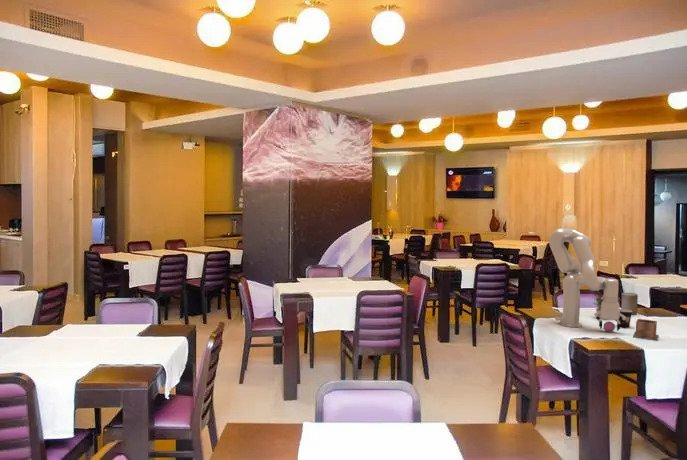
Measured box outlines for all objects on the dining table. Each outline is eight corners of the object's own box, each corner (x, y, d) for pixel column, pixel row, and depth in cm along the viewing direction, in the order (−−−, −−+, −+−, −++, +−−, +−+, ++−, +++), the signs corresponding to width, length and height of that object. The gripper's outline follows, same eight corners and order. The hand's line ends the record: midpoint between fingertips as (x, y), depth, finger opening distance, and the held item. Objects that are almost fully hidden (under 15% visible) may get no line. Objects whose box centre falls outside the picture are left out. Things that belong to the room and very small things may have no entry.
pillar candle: (637, 313, 375) (638, 291, 374) (636, 315, 367) (637, 293, 366) (621, 311, 380) (622, 290, 380) (620, 314, 372) (620, 292, 371)
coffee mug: (629, 325, 338) (630, 309, 338) (632, 329, 330) (633, 312, 330) (609, 324, 342) (609, 308, 341) (610, 327, 334) (611, 310, 333)
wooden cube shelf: (632, 337, 310) (633, 321, 310) (634, 333, 320) (635, 318, 320) (657, 340, 304) (658, 325, 303) (658, 336, 314) (659, 321, 313)
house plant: (588, 319, 353) (589, 294, 352) (587, 315, 366) (588, 291, 365) (612, 321, 348) (613, 296, 347) (611, 317, 361) (612, 292, 360)
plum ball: (602, 332, 322) (603, 321, 321) (604, 329, 327) (604, 320, 326) (613, 333, 318) (614, 323, 318) (615, 331, 323) (615, 321, 323)
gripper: (593, 299, 323) (592, 328, 324) (626, 302, 313) (625, 332, 314) (595, 297, 329) (594, 325, 330) (627, 300, 320) (626, 330, 321)
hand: (609, 329), depth 322 cm, fingers open, 8 cm apart
